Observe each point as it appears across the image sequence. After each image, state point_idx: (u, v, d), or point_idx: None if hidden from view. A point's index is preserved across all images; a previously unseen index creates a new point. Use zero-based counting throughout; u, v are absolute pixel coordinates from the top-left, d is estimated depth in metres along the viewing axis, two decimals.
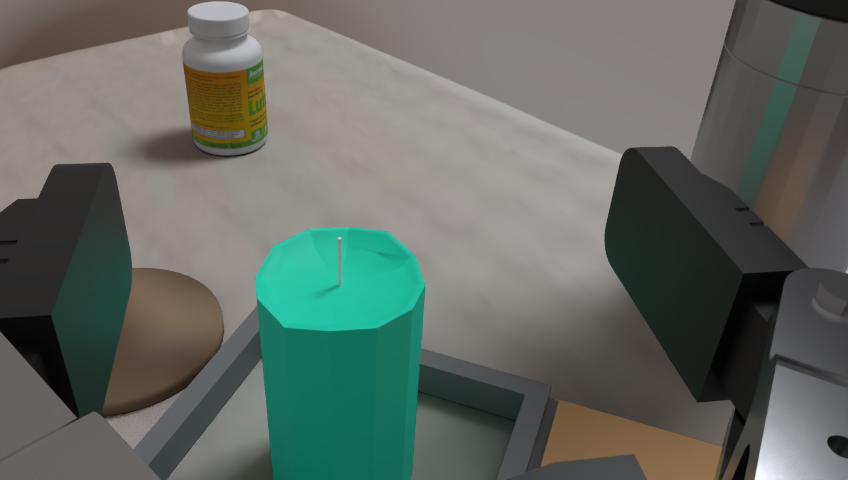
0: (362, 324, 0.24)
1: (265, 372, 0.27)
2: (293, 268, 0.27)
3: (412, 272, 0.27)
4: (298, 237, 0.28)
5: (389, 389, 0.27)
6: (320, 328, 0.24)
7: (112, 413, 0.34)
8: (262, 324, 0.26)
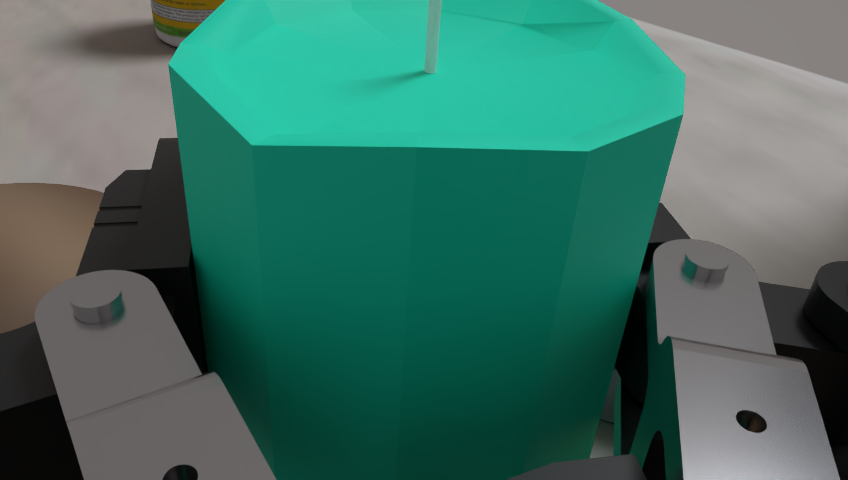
0: (533, 138, 0.07)
1: (206, 326, 0.09)
2: (295, 37, 0.10)
3: (634, 48, 0.09)
4: None
5: (573, 384, 0.09)
6: (383, 142, 0.07)
7: None
8: (188, 160, 0.08)
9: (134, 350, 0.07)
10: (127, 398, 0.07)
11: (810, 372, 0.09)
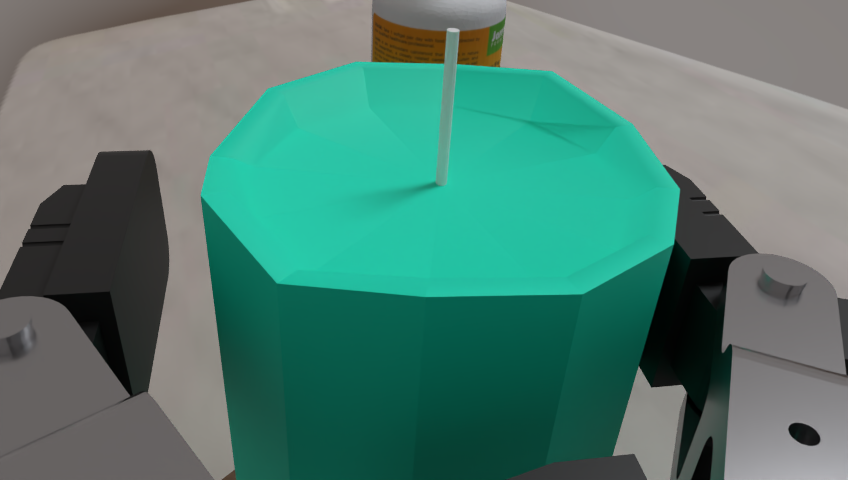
0: (533, 281, 0.07)
1: (232, 415, 0.10)
2: (315, 144, 0.10)
3: (634, 158, 0.10)
4: (331, 75, 0.11)
5: None
6: (395, 287, 0.07)
7: None
8: (218, 277, 0.09)
9: (37, 385, 0.07)
10: (51, 429, 0.06)
11: None
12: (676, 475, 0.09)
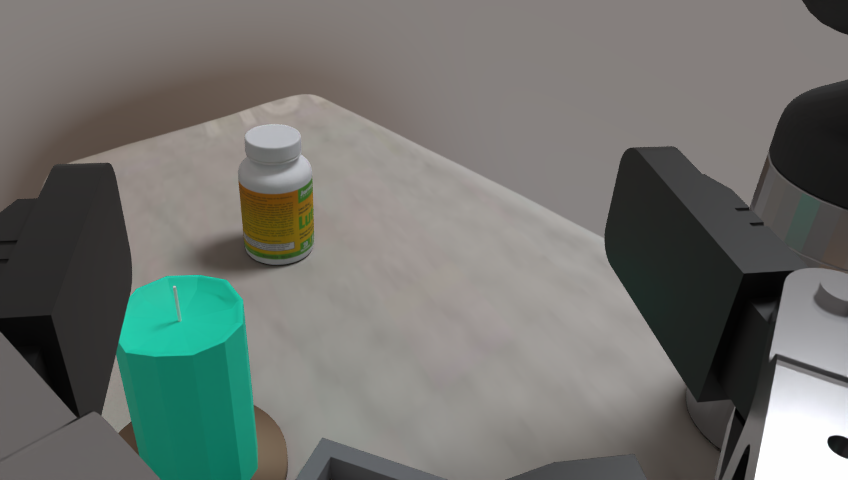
0: (181, 352, 0.33)
1: (123, 384, 0.36)
2: (148, 307, 0.36)
3: (236, 312, 0.36)
4: (157, 282, 0.37)
5: (213, 401, 0.35)
6: (149, 354, 0.33)
7: None
8: None
9: None
10: None
11: None
12: None
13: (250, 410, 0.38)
